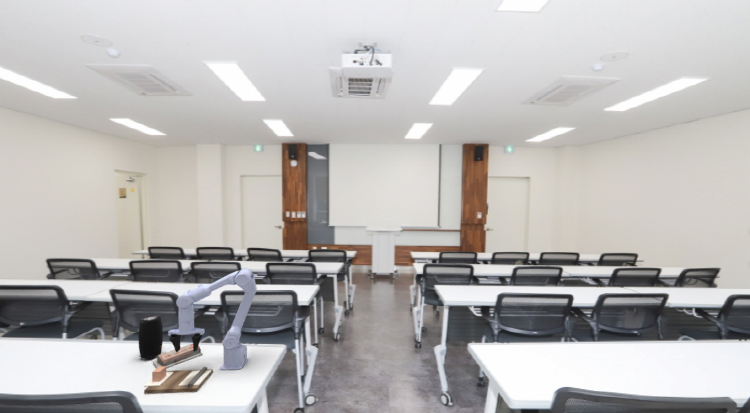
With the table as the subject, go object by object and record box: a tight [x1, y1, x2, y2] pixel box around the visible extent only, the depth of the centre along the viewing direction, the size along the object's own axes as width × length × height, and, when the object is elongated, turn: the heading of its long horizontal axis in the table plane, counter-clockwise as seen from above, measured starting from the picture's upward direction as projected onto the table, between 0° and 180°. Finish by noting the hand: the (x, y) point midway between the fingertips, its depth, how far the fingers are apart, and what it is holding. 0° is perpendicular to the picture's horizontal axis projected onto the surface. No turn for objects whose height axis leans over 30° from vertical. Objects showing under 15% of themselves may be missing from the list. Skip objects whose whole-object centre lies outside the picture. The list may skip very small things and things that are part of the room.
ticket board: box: [143, 366, 214, 395], centre depth 121 cm, size 20×13×3 cm, turn 93°
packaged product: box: [152, 343, 203, 369], centre depth 139 cm, size 18×5×10 cm
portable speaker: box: [137, 313, 164, 362], centre depth 141 cm, size 9×9×20 cm
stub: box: [143, 366, 174, 388], centre depth 120 cm, size 6×9×4 cm, turn 3°
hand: (186, 350), depth 128 cm, fingers open, 7 cm apart
